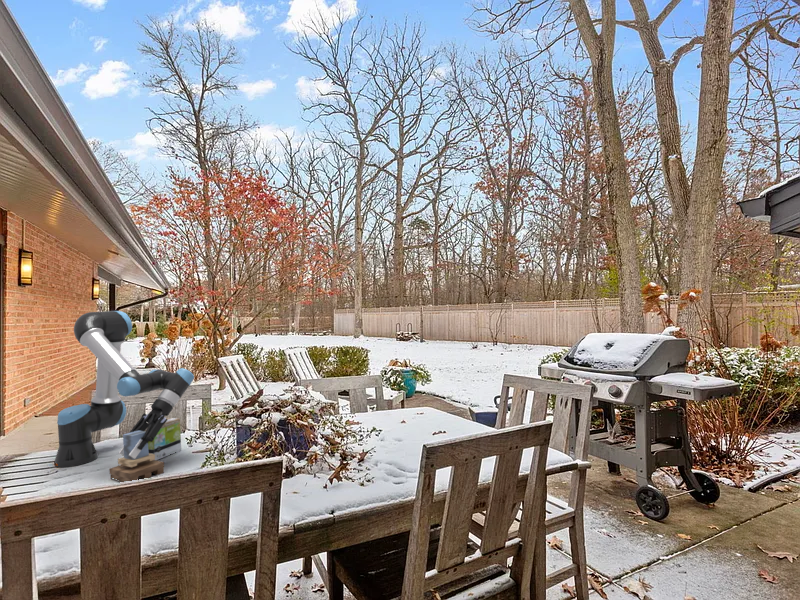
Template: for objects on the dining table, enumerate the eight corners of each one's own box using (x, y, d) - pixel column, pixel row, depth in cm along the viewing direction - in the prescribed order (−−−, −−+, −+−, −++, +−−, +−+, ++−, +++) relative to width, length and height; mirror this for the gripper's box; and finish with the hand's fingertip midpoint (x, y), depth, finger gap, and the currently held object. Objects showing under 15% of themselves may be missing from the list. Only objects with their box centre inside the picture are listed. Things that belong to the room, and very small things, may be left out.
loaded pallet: (118, 464, 176) (116, 435, 176) (141, 456, 184) (140, 428, 184) (131, 467, 172) (130, 437, 172) (155, 459, 180) (153, 431, 180)
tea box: (155, 462, 194) (153, 426, 194) (136, 460, 197) (134, 426, 197) (182, 450, 208) (180, 417, 208) (164, 449, 211) (162, 416, 211)
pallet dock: (110, 479, 176) (109, 468, 176) (143, 467, 187) (143, 457, 187) (130, 484, 169) (130, 473, 169) (164, 472, 180) (163, 462, 180)
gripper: (186, 409, 187) (148, 463, 172) (157, 406, 196) (120, 457, 182) (173, 399, 182) (133, 454, 168) (144, 396, 192) (105, 448, 177)
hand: (126, 455), depth 175 cm, fingers closed on loaded pallet, 6 cm apart
